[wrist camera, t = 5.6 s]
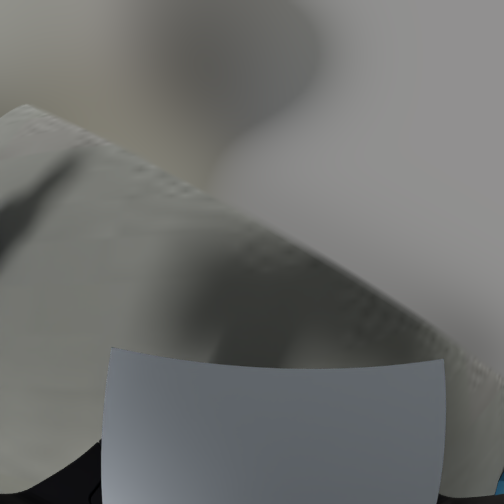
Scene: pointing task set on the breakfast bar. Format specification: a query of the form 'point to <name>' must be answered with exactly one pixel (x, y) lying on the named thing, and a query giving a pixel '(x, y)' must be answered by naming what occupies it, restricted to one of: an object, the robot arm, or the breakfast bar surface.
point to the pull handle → (271, 433)
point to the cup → (500, 486)
